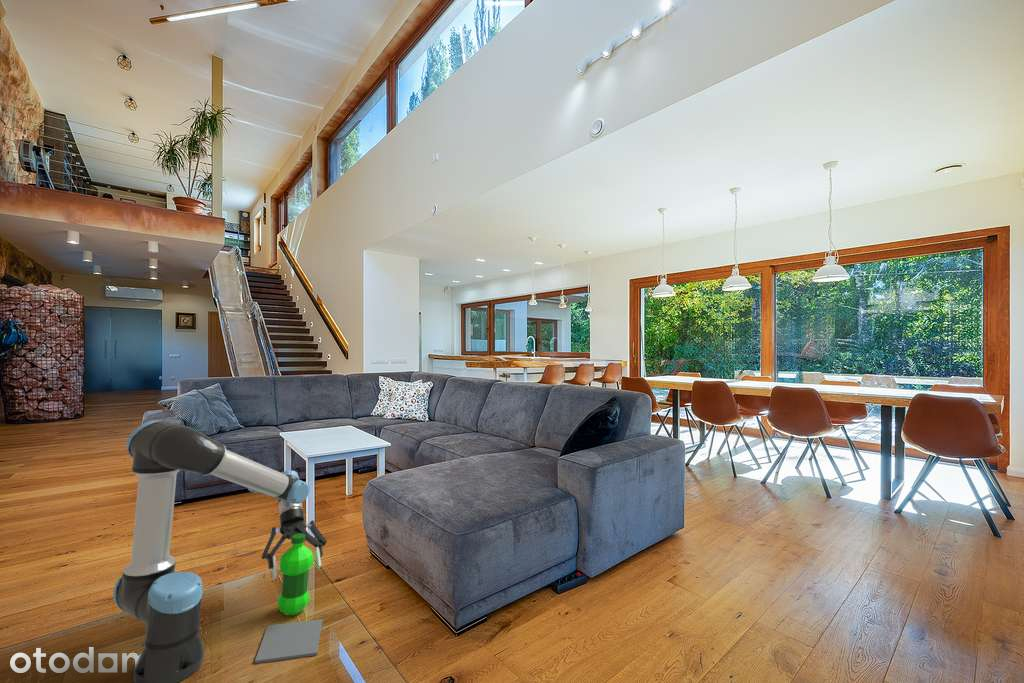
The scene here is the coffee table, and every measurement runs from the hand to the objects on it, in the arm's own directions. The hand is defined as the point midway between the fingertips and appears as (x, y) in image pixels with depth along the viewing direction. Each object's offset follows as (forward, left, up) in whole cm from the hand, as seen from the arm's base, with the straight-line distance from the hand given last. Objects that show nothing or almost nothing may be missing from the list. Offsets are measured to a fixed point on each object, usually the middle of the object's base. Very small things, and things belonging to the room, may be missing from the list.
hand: (297, 572), depth 146 cm
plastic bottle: (-1, +1, -13) cm, 13 cm away
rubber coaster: (+1, -15, -13) cm, 20 cm away
